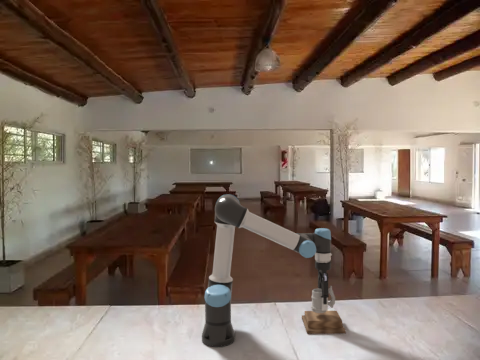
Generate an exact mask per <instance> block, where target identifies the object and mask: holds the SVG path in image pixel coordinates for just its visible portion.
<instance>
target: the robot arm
mask: <svg viewBox="0 0 480 360" xmlns="http://www.w3.org/2000/svg"><path fill="white" fill-rule="evenodd" d="M214 223H215V224H216V235H215V244H214V254H213V265H212V272H211V274H210V275H209V276H208V282H207V283H208V284H207V288H206V289H205V291H204V303H205V304H204V307H205V308H204V311H205V312H204V313H205V314H204V315H205V316H204V318H205V323H204V326H203V329H202V333H201V341H202V343H203V344H204V345H206V346H210V347H217V348H218V347H219V348H220V347H225V346H229V345H231V344H232V343H234V342H235V340H236V332H235V330H234V327H233V324H232V305H231V304H232V292H233V282H234V278H233V277H232V276H231V270H232V259H233V251H234V240H235V231H236V230H235V229H236V228H238V229H241V228H243V229H246V230H248V231H249V232H251V233H255V234H256V235H258V236H261V237H263V238H266V239H267V240H270V241H272V242H274V243H276V244H278V245H281V246H283V247H285V248H288V249H289V250H292V251H293V252H295V253H297V254H299V255H301V256H302V257H303V258H305V259H309V258H311V259H312V257H314V260H315V261H314V262H315V263H314V267H315V269H316V270H317V289H322V296H321V298H322V311H328V308H329V307H328V306H329V305H328V302H329V299H328V298H329V297H330V294H329V292H328V290H329V274H328V272H327V271H330V270H331V269H332V262H331V260H332V259H331V258H332V257H331V256H333V253H332V235H331V234H332V233H331V229H329V228H326V227H325V228H324V227H323V228H322V227H321V228H320V227H319V228H316V229H315V230H314V232H312V233H311V232H310V233H309V232H308V233H305V232H302V233H299V232H297V233H295V232H294V231H291V230H290V229H287V228H285V227H283V226H281V225H279V224H277V223H274V222H272V221H270V220H268V219H265V218H263V217H261V216H259V215H257V214H255V213H253V212H250V211H249V208H247V207H245V206H243V205H241V203H240V200H239V198H238V197H237V196H235V195H234V194H231V193H229V194H227V193H226V194H223V195H221V196H220V197H219V198H218V199H217V200H216V202H215V206H214Z"/></svg>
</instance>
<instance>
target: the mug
mask: <svg viewBox="0 0 480 360" xmlns="http://www.w3.org/2000/svg"><path fill="white" fill-rule="evenodd" d="M328 292H329V296H330V299H331V300H330V301H328V306H329V308H334V306H335V304H336V296H335V294H334V293H335V292H334V290H333V286H332V285H329V287H328ZM321 296H322V289H318V288H313V289H312V290H311V304H310V308H311V311H313V312H316V313H324V312H326V311H322V298H321Z"/></svg>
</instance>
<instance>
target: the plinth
mask: <svg viewBox="0 0 480 360" xmlns="http://www.w3.org/2000/svg"><path fill="white" fill-rule="evenodd" d="M301 320H302V323H303V327H304V329H305V332H306V334H307V335H312V334H313V335H321V334H323V335H326V334H327V335H328V334H330V335H333V334H334V335H335V334H337V335H338V334H340V335H341V334H342V335H343V334H344V335H345V334H347V332H346V331H347V330H346V328H345V327H344V324H343V319H342V318H341V315H340V314H339V312H338V311H337V310H335V311H326V312H324V313H316V312H313V311H312V310H305V311H304V314H302V315H301Z"/></svg>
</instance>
